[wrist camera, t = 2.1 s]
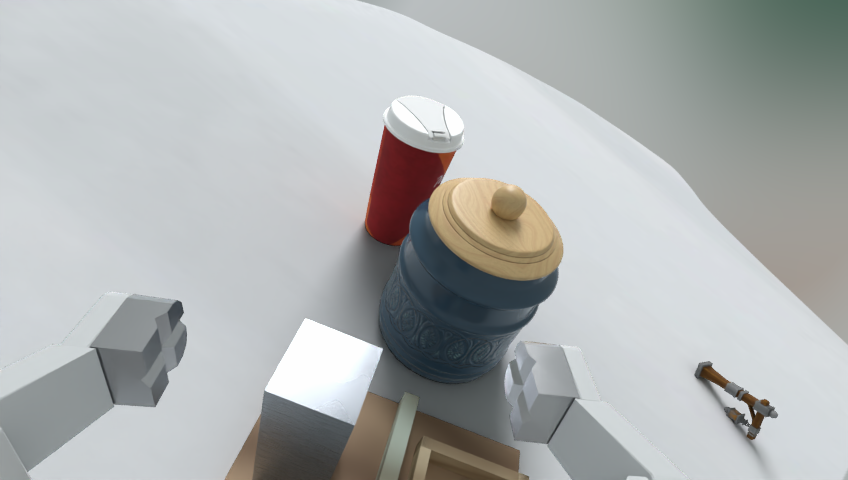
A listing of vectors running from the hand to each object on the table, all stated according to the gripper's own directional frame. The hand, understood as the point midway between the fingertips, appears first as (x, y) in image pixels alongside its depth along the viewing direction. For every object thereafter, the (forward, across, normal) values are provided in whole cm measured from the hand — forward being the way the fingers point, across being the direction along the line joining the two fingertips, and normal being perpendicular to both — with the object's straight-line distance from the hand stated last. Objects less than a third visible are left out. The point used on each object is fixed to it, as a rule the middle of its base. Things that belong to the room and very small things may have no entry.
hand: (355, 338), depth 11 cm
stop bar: (+9, +3, +23) cm, 25 cm away
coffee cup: (+37, -2, +21) cm, 42 cm away
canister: (+24, -8, +23) cm, 35 cm away
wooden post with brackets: (+22, -40, +28) cm, 53 cm away
